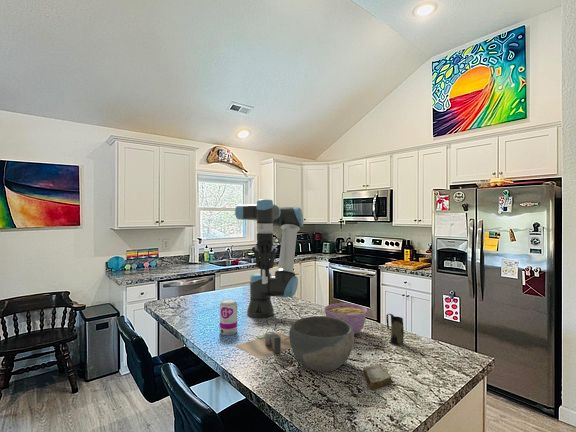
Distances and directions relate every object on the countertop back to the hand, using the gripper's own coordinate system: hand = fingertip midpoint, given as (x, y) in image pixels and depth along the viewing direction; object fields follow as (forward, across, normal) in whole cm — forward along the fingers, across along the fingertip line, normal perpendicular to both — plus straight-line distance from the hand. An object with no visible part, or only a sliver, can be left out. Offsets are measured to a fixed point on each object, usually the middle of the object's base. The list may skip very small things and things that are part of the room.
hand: (264, 283), depth 154 cm
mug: (+25, +56, +18) cm, 63 cm away
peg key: (+23, +9, -11) cm, 27 cm away
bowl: (+25, +34, -17) cm, 45 cm away
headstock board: (+24, +9, -11) cm, 28 cm away
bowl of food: (+25, +33, +20) cm, 46 cm away
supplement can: (+25, -18, -4) cm, 30 cm away
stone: (+25, +55, -18) cm, 63 cm away
